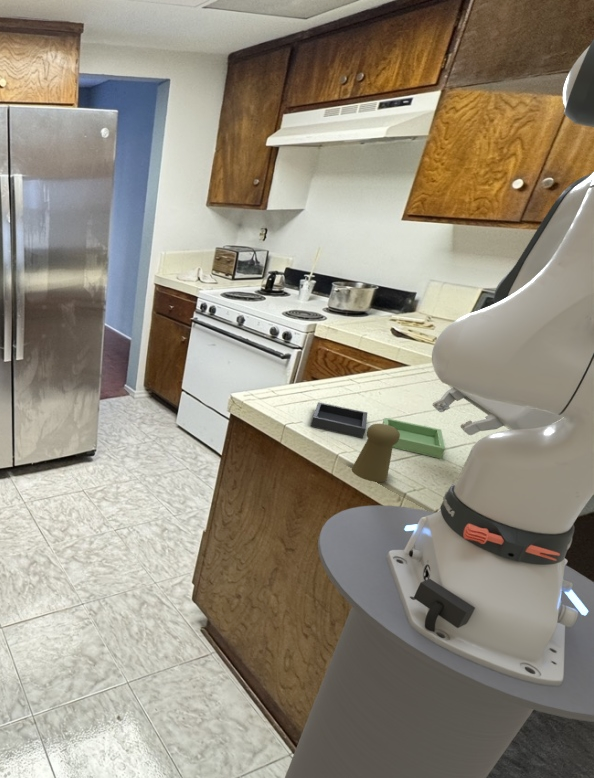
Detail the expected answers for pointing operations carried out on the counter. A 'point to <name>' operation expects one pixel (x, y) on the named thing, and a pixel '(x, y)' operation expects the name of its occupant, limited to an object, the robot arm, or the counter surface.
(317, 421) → the dark tray
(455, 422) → the counter surface
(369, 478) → the olive brown pawn
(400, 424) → the green tray
